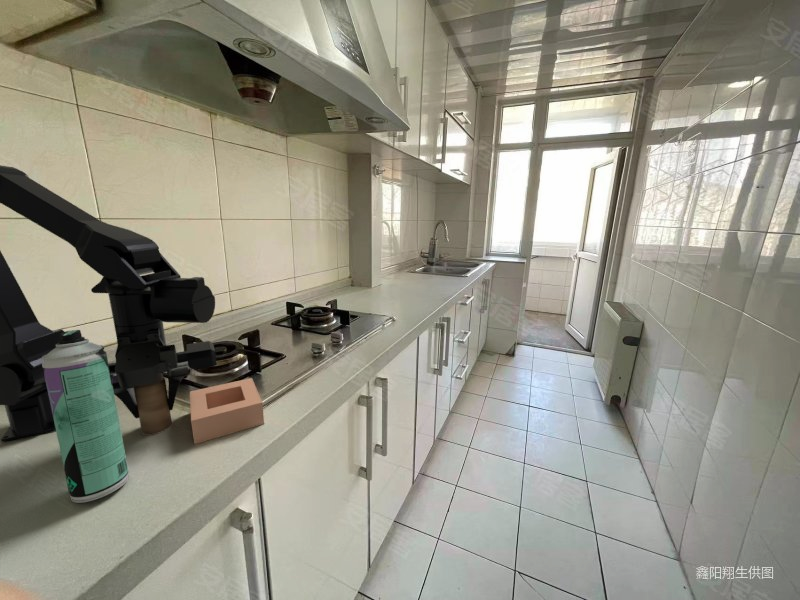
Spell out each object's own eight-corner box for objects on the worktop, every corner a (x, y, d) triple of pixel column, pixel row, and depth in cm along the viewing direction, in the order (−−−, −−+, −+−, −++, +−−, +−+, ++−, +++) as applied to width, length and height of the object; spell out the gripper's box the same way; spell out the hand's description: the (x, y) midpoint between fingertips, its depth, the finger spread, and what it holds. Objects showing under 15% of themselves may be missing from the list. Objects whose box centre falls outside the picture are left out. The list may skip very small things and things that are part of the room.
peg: (143, 424, 54) (134, 380, 52) (172, 417, 56) (165, 374, 54) (140, 437, 51) (131, 391, 49) (171, 429, 53) (164, 384, 51)
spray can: (125, 467, 45) (99, 324, 42) (133, 483, 41) (104, 328, 39) (69, 489, 41) (36, 333, 38) (72, 510, 37) (35, 339, 35)
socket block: (192, 411, 58) (189, 391, 57) (253, 396, 63) (251, 377, 62) (194, 444, 50) (191, 420, 49) (264, 423, 55) (262, 402, 54)
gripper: (29, 351, 38) (59, 465, 41) (214, 326, 48) (224, 420, 51) (58, 324, 47) (81, 420, 50) (208, 308, 57) (218, 390, 60)
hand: (154, 413), depth 53 cm, fingers closed on peg, 4 cm apart
